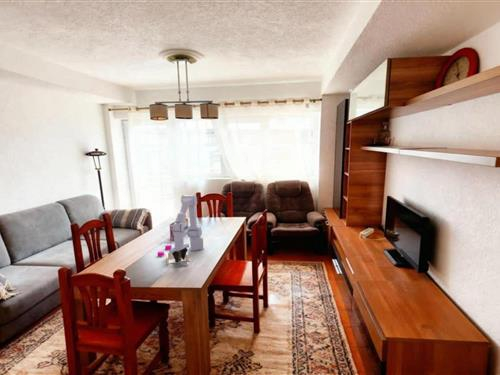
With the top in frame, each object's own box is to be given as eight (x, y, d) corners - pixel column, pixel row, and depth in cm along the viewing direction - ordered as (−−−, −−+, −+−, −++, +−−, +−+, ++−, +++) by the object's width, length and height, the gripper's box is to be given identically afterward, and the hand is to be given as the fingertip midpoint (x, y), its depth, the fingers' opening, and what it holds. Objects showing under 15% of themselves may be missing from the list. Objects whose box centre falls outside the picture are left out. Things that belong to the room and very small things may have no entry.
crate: (186, 255, 194) (186, 249, 193) (188, 260, 185) (188, 254, 184) (166, 258, 189) (165, 252, 188) (167, 264, 180) (166, 258, 179)
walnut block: (180, 254, 187) (180, 249, 182) (181, 259, 185) (181, 255, 180) (174, 255, 186) (174, 250, 181) (175, 260, 184) (175, 256, 178)
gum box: (177, 240, 226) (176, 225, 224) (169, 239, 228) (168, 225, 226) (188, 231, 248) (188, 218, 246) (181, 231, 249) (180, 218, 247)
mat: (186, 262, 183) (186, 261, 183) (188, 266, 176) (188, 265, 176) (172, 264, 180) (172, 263, 180) (173, 268, 173) (173, 267, 173)
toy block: (164, 253, 210) (163, 244, 208) (172, 254, 209) (171, 244, 208) (154, 262, 195) (154, 252, 194) (163, 262, 194) (162, 252, 193)
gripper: (184, 236, 183) (185, 255, 185) (165, 242, 172) (167, 262, 174) (190, 238, 179) (191, 258, 181) (172, 245, 168) (173, 265, 170)
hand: (180, 260), depth 177 cm, fingers open, 4 cm apart
